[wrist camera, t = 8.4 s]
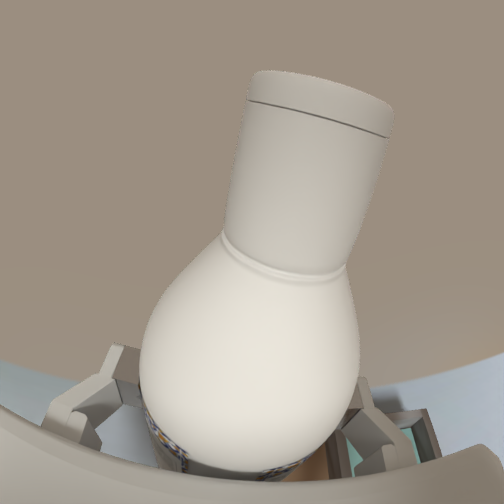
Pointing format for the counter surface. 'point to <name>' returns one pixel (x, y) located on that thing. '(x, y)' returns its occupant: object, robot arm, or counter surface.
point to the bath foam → (269, 290)
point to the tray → (346, 457)
